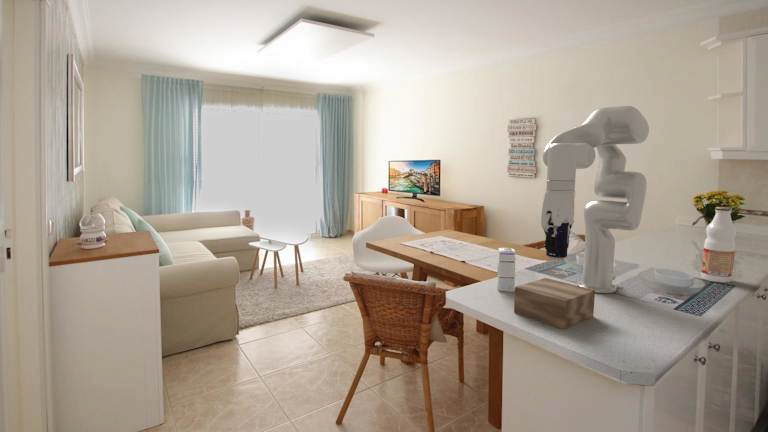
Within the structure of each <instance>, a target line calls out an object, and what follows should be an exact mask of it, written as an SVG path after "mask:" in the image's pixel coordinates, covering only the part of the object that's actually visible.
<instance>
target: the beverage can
mask: <svg viewBox="0 0 768 432" xmlns="http://www.w3.org/2000/svg"><path fill="white" fill-rule="evenodd" d="M567 219H568V218H567ZM567 219H564V221H563V222H562V224H561V226H559V227H558V228H557V232H556V236H555V237H557V246H556V251H552V250H546V249H545V255H546V256H547V258H548V259H550V260H555V261H562V260H563V261H564V260H565V259H566V258H568V248H569V247H568V235H569V234H568V233H569V221H568V220H567ZM550 225H552V226H554V225H553V224H550ZM551 229H552V231H553V228H551Z"/></svg>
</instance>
